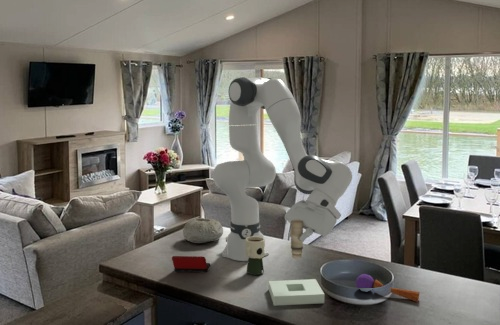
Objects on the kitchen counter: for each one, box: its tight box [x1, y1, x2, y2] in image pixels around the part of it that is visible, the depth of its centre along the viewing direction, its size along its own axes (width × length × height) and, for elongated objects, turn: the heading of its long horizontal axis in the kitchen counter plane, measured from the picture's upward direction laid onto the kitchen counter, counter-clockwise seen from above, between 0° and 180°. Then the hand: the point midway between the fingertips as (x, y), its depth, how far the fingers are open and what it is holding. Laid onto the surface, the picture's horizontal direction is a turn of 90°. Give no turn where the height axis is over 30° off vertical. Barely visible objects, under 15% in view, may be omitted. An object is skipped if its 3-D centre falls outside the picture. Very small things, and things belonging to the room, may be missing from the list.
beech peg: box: [290, 220, 304, 260], centre depth 153 cm, size 4×4×12 cm
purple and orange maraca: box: [355, 273, 420, 303], centre depth 154 cm, size 6×6×20 cm
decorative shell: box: [182, 217, 224, 244], centre depth 210 cm, size 18×18×10 cm
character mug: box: [245, 236, 266, 276], centre depth 173 cm, size 11×7×13 cm, turn 149°
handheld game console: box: [171, 255, 211, 273], centre depth 177 cm, size 12×11×7 cm
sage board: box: [268, 278, 325, 307], centre depth 154 cm, size 12×16×3 cm
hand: (295, 238), depth 153 cm, fingers closed on beech peg, 4 cm apart
